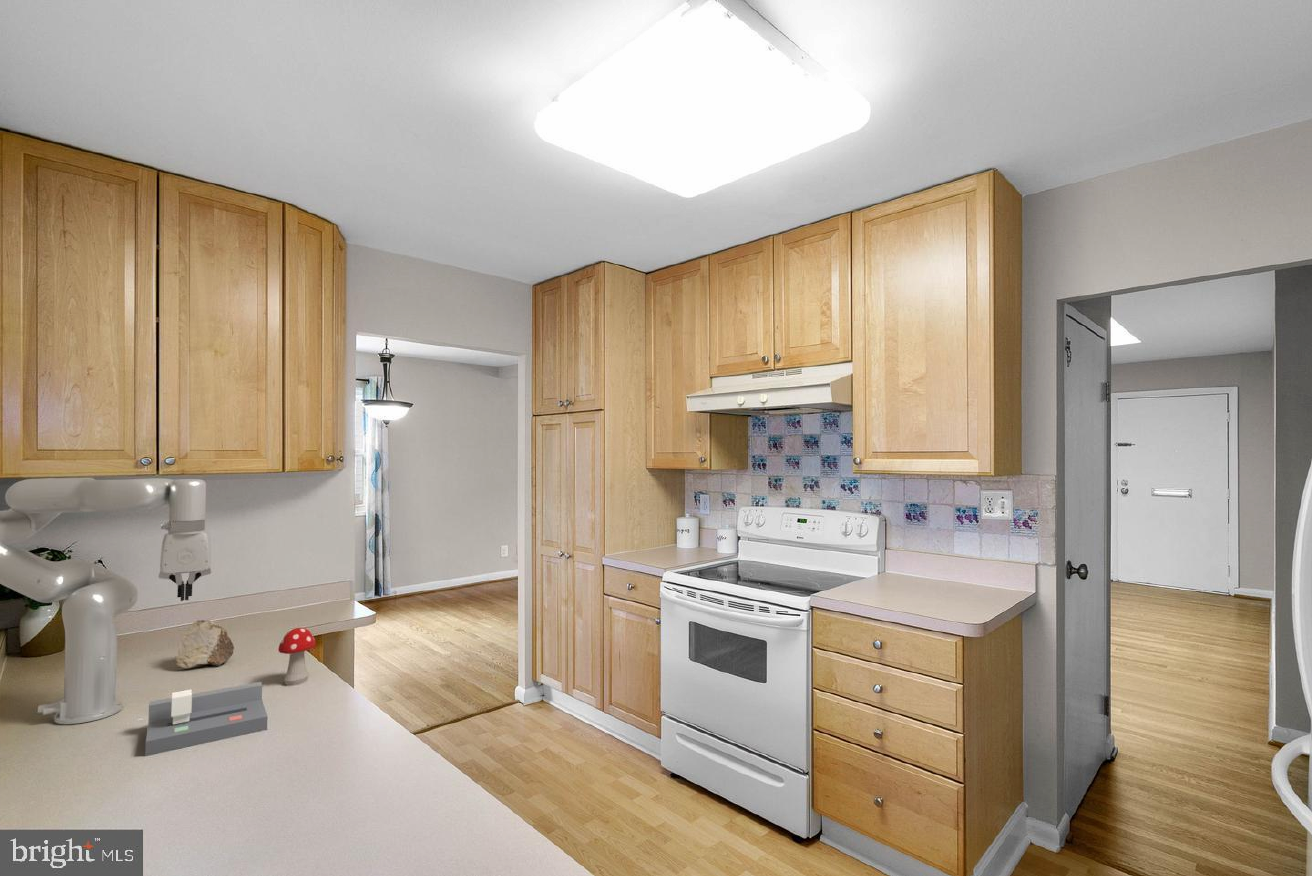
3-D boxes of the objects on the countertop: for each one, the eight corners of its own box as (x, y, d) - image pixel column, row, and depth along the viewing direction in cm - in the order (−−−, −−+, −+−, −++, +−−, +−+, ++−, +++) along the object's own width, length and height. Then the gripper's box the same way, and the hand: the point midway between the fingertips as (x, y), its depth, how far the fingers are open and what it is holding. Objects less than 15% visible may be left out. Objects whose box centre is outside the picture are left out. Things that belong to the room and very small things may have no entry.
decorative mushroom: (296, 688, 171) (297, 633, 172) (269, 686, 173) (270, 631, 174) (322, 676, 181) (323, 624, 182) (296, 674, 183) (297, 622, 183)
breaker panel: (145, 755, 132) (146, 724, 133) (148, 729, 145) (149, 701, 145) (267, 729, 146) (267, 700, 146) (260, 707, 158) (261, 681, 159)
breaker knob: (170, 725, 140) (171, 698, 140) (171, 719, 143) (172, 692, 143) (191, 721, 142) (191, 694, 142) (190, 715, 145) (191, 689, 146)
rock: (167, 651, 180) (213, 611, 191) (157, 652, 184) (203, 612, 195) (205, 684, 186) (248, 642, 196) (195, 683, 190) (237, 643, 201)
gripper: (148, 530, 153) (146, 606, 152) (223, 526, 162) (220, 598, 161) (149, 527, 159) (147, 600, 158) (221, 524, 168) (219, 593, 167)
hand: (184, 599), depth 159 cm, fingers closed
